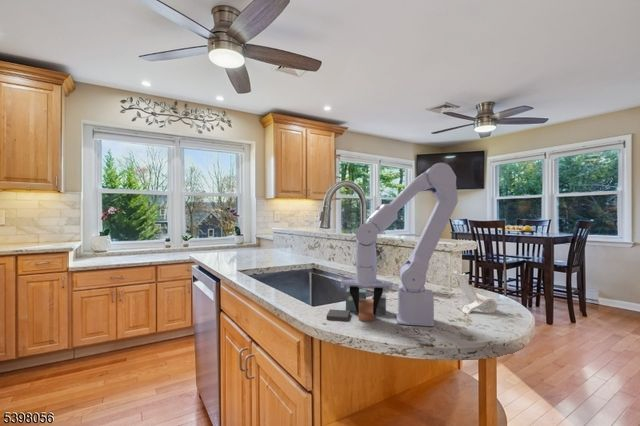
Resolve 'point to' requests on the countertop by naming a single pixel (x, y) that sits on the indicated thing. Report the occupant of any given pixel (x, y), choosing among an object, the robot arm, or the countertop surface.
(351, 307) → the box
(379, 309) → the slate block
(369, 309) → the terracotta block
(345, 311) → the mat
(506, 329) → the countertop surface
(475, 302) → the plastic part
